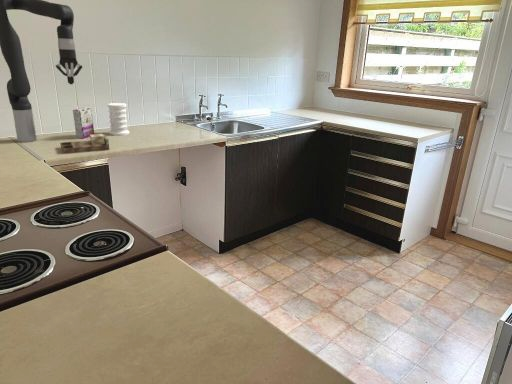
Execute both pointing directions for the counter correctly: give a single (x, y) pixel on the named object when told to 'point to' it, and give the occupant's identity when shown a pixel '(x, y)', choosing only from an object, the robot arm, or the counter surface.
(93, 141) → the maple block
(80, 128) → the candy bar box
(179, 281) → the counter surface
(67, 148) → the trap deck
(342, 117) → the counter surface
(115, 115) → the decorative container
